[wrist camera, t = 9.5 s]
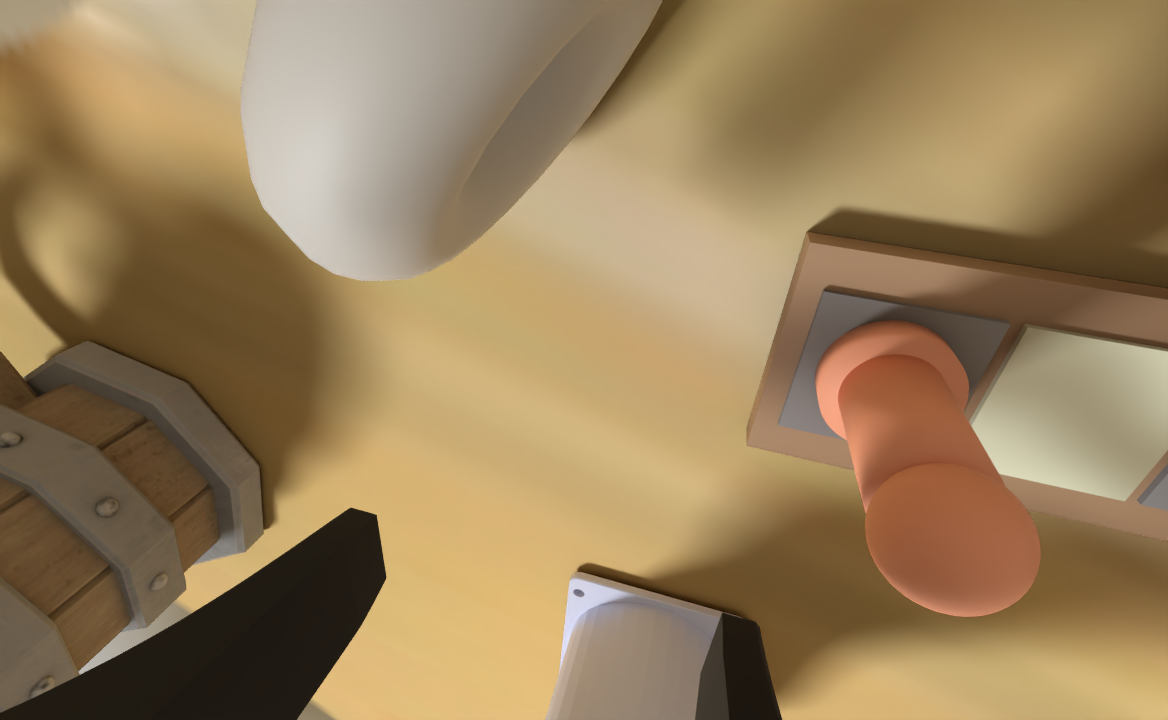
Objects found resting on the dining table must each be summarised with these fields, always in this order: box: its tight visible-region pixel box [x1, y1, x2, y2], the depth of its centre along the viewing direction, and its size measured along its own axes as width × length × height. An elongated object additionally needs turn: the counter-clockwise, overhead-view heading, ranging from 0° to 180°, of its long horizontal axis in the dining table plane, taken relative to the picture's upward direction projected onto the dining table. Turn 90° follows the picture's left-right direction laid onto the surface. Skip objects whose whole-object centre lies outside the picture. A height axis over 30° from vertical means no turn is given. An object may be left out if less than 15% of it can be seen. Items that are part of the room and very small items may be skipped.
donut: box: [241, 0, 663, 281], centre depth 11 cm, size 10×4×10 cm, turn 141°
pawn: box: [815, 320, 1041, 617], centre depth 12 cm, size 4×4×7 cm
